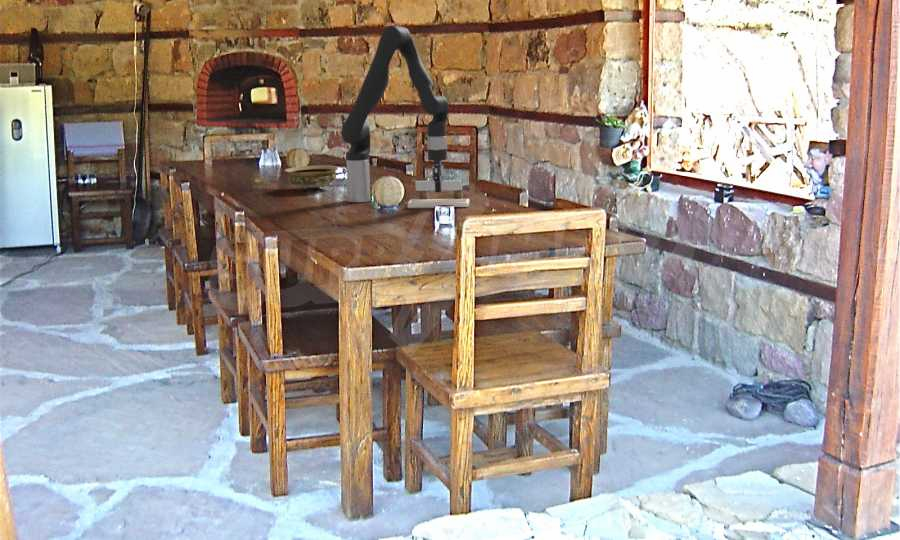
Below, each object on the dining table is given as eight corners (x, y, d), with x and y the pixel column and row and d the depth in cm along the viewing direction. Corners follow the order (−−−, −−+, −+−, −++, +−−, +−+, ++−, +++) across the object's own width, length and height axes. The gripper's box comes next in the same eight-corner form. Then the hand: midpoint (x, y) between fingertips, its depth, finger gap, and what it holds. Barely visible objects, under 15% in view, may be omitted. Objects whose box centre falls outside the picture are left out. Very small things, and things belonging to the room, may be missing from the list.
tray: (407, 208, 382) (407, 203, 381) (411, 204, 391) (410, 199, 391) (467, 207, 379) (467, 202, 379) (469, 203, 389) (469, 198, 388)
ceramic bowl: (275, 189, 446) (274, 167, 444) (323, 184, 458) (322, 163, 456) (301, 196, 421) (300, 173, 419) (351, 191, 433) (350, 169, 431)
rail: (415, 190, 383) (415, 181, 382) (416, 189, 387) (416, 180, 386) (461, 190, 381) (460, 181, 381) (461, 188, 385) (461, 179, 384)
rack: (416, 203, 393) (415, 182, 391) (418, 201, 398) (417, 180, 397) (465, 203, 391) (464, 181, 389) (466, 200, 396) (466, 179, 395)
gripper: (429, 146, 388) (431, 189, 391) (425, 149, 374) (427, 194, 378) (448, 145, 387) (449, 188, 391) (444, 149, 373) (446, 193, 377)
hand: (438, 191), depth 384 cm, fingers closed on rail, 3 cm apart
